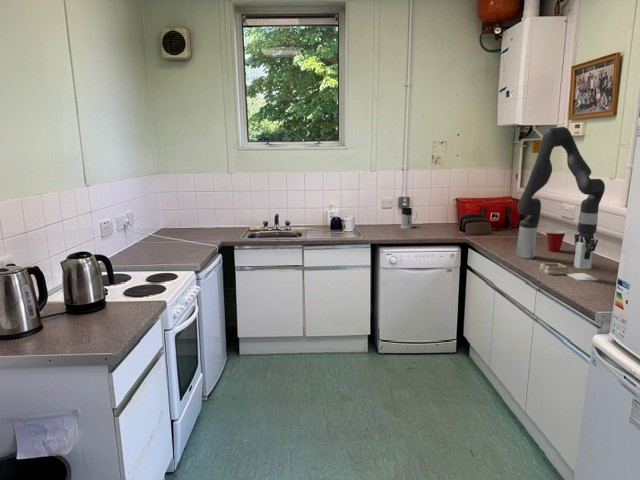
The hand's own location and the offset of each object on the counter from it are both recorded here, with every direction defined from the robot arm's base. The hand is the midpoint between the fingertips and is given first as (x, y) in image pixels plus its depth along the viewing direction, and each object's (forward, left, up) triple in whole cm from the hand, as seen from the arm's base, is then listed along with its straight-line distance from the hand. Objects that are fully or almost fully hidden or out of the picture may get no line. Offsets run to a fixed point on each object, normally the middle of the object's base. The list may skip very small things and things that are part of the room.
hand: (583, 257), depth 208 cm
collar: (-10, -8, -10) cm, 16 cm away
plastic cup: (-54, +18, -10) cm, 58 cm away
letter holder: (-111, -7, -10) cm, 112 cm away
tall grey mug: (-136, -49, -10) cm, 145 cm away
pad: (0, 0, -10) cm, 10 cm away
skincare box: (0, 0, -5) cm, 5 cm away
